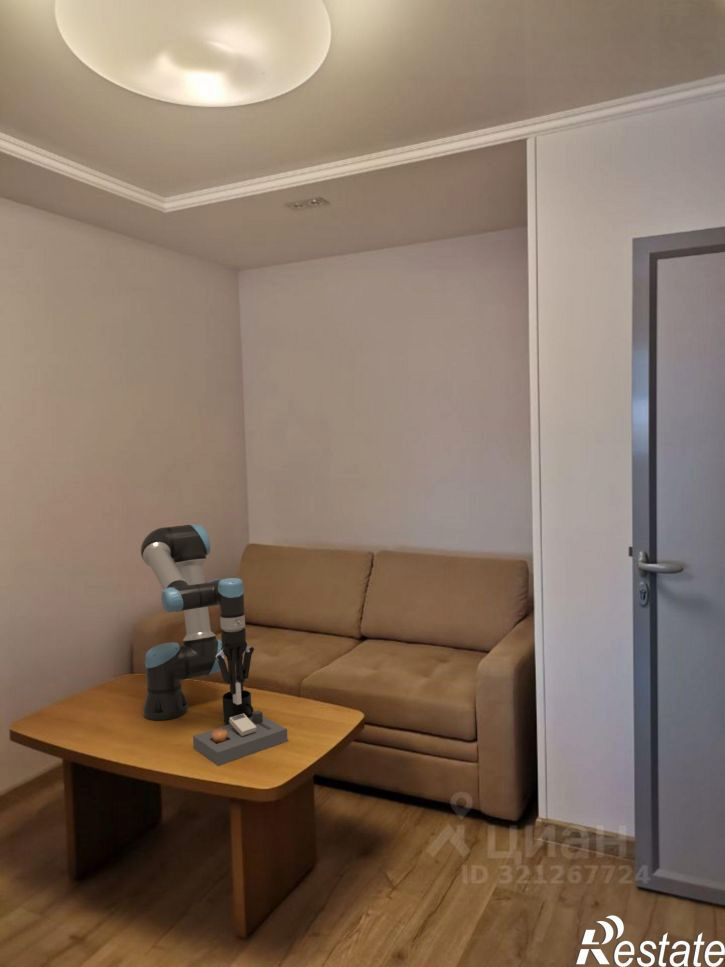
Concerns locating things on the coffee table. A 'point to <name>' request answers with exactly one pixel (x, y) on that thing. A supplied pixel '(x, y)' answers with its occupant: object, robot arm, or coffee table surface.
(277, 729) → the panel
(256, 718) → the slider
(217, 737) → the button
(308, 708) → the coffee table surface
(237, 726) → the rocker
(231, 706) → the mug
